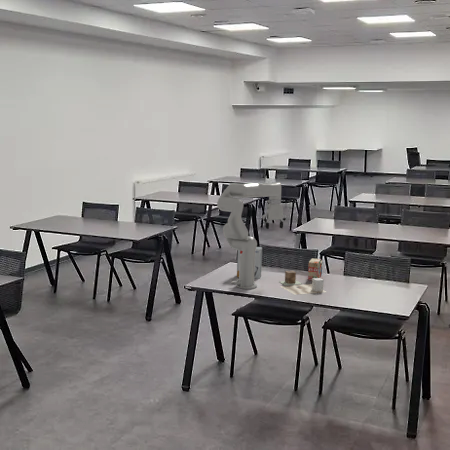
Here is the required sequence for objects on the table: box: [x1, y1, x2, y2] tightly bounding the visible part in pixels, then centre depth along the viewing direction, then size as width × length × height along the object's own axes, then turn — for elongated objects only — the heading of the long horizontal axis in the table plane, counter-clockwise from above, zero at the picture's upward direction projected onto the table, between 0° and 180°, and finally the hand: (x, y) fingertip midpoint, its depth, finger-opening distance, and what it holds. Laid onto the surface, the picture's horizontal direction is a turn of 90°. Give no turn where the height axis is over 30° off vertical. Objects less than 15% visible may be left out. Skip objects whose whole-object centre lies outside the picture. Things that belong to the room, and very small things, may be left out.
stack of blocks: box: [307, 258, 323, 281], centre depth 408 cm, size 21×6×12 cm, turn 163°
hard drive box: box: [236, 246, 263, 280], centre depth 404 cm, size 16×8×20 cm, turn 77°
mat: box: [278, 280, 303, 286], centre depth 391 cm, size 12×9×1 cm
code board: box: [279, 283, 327, 296], centre depth 376 cm, size 22×20×1 cm
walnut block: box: [284, 270, 297, 284], centre depth 390 cm, size 5×5×7 cm
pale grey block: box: [311, 277, 324, 292], centre depth 374 cm, size 5×5×7 cm
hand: (274, 228), depth 397 cm, fingers open, 9 cm apart
